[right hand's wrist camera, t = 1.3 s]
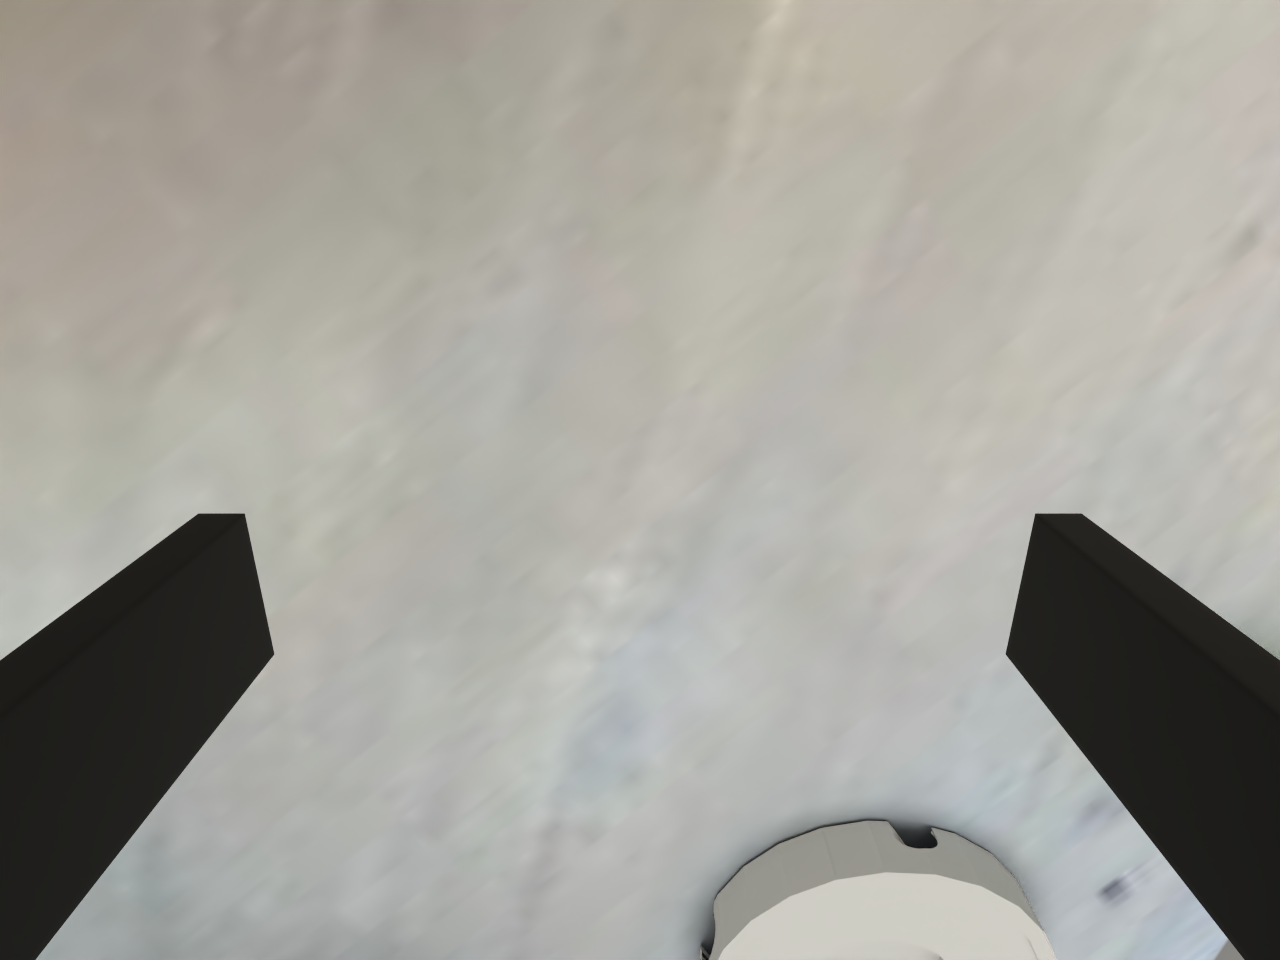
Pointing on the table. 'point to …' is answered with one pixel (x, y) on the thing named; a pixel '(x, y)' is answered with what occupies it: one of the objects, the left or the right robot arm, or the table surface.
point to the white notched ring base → (875, 902)
